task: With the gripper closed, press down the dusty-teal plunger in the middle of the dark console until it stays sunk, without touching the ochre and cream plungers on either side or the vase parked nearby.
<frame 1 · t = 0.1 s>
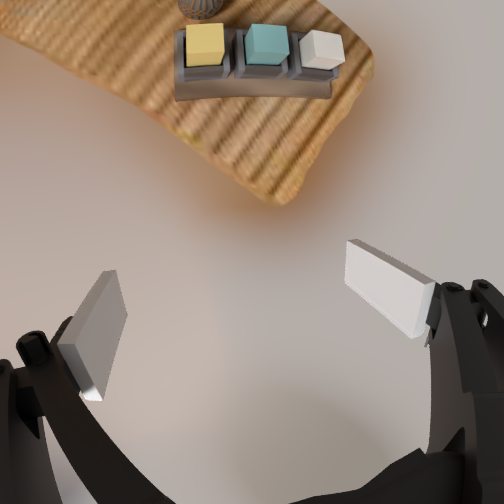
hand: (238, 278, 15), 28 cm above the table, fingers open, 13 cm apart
plunger cream: (320, 50, 30), point 7 cm above the table, slide at 0.0 cm
console: (253, 62, 35), on the table
plunger teal: (265, 45, 29), point 7 cm above the table, slide at 0.0 cm
plunger ochre: (203, 45, 27), point 7 cm above the table, slide at 0.0 cm
vase: (199, 10, 30), on the table
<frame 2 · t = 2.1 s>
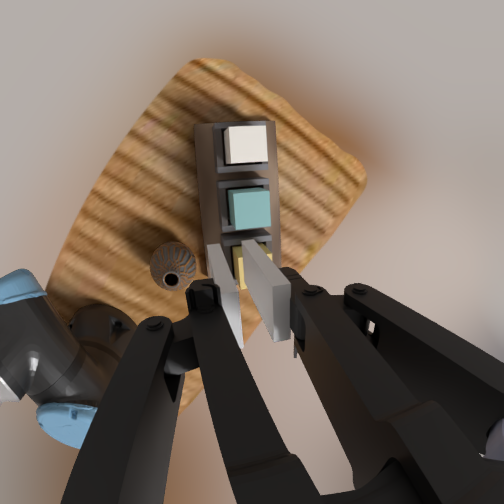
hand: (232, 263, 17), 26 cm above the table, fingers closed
plunger cream: (244, 145, 33), point 7 cm above the table, slide at 0.0 cm
console: (238, 200, 42), on the table
plunger teal: (248, 207, 36), point 7 cm above the table, slide at 0.0 cm
plunger ochre: (252, 265, 38), point 7 cm above the table, slide at 0.0 cm
vase: (174, 257, 43), on the table
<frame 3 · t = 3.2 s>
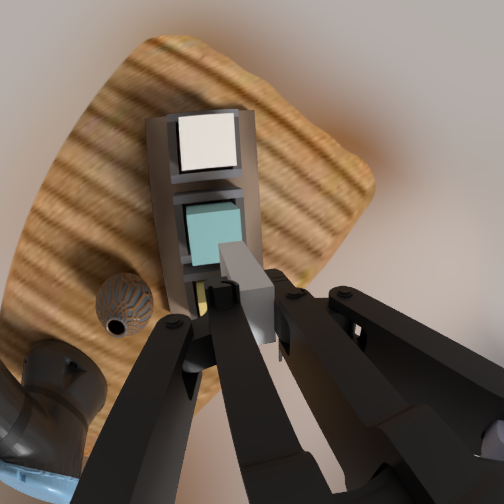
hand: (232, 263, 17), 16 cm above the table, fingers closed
plunger cream: (205, 143, 23), point 7 cm above the table, slide at 0.0 cm
console: (207, 216, 32), on the table
plunger teal: (212, 231, 25), point 7 cm above the table, slide at 0.0 cm
plunger ochre: (221, 307, 28), point 7 cm above the table, slide at 0.0 cm
vase: (129, 290, 33), on the table
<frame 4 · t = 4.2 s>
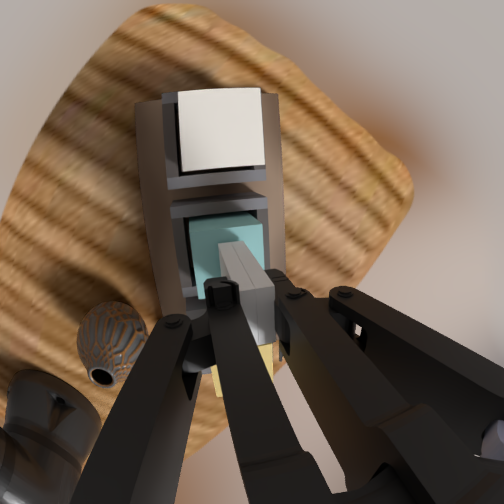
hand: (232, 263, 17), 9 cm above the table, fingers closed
plunger cream: (216, 132, 16), point 7 cm above the table, slide at 0.0 cm
console: (215, 231, 25), on the table
plunger teal: (224, 250, 19), point 6 cm above the table, slide at -1.3 cm, touching gripper
plunger ochre: (236, 352, 21), point 7 cm above the table, slide at 0.0 cm
vase: (120, 320, 26), on the table
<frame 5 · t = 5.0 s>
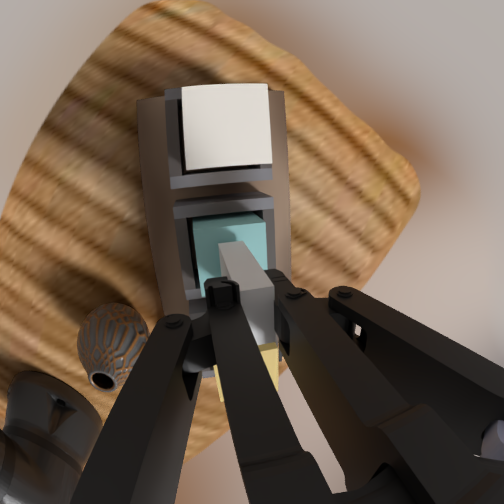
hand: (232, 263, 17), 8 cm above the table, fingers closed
plunger cream: (221, 129, 15), point 7 cm above the table, slide at 0.0 cm
console: (219, 231, 24), on the table
plunger teal: (227, 248, 20), point 5 cm above the table, slide at -2.1 cm
plunger ochre: (241, 356, 20), point 7 cm above the table, slide at 0.0 cm
vase: (121, 321, 25), on the table
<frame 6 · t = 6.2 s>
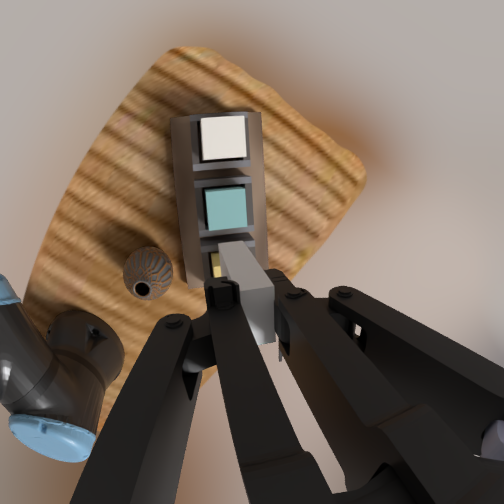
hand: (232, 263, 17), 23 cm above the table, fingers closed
plunger cream: (221, 139, 29), point 7 cm above the table, slide at 0.0 cm
console: (220, 200, 38), on the table
plunger teal: (224, 206, 33), point 5 cm above the table, slide at -2.1 cm
plunger ochre: (231, 273, 34), point 7 cm above the table, slide at 0.0 cm
vase: (151, 263, 39), on the table
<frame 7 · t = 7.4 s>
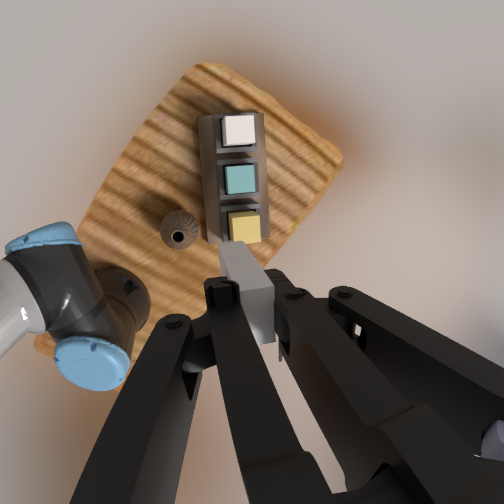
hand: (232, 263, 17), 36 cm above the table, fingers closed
plunger cream: (237, 131, 42), point 7 cm above the table, slide at 0.0 cm
console: (233, 177, 51), on the table
plunger teal: (238, 178, 46), point 5 cm above the table, slide at -2.1 cm
plunger ochre: (243, 226, 47), point 7 cm above the table, slide at 0.0 cm
vase: (179, 224, 52), on the table
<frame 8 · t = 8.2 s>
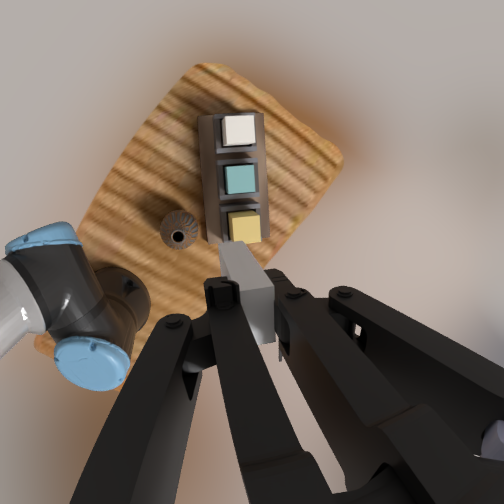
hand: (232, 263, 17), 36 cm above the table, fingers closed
plunger cream: (237, 131, 42), point 7 cm above the table, slide at 0.0 cm
console: (233, 177, 51), on the table
plunger teal: (238, 178, 46), point 5 cm above the table, slide at -2.1 cm
plunger ochre: (243, 226, 47), point 7 cm above the table, slide at 0.0 cm
vase: (179, 224, 52), on the table
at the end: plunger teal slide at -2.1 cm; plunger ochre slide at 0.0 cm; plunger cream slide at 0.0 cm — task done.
